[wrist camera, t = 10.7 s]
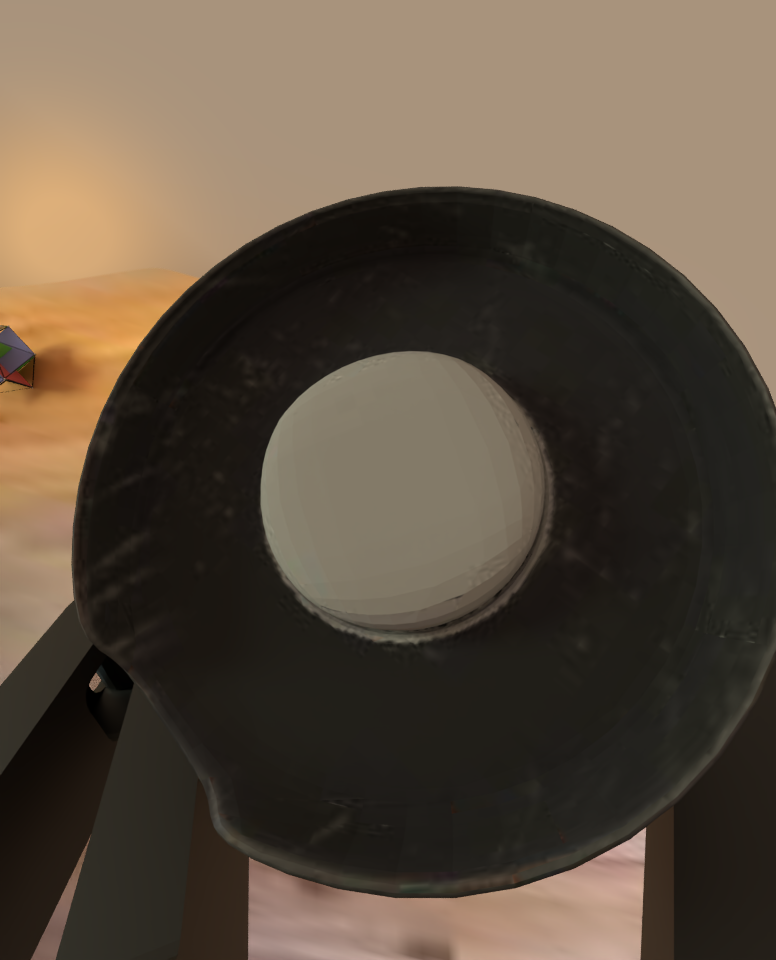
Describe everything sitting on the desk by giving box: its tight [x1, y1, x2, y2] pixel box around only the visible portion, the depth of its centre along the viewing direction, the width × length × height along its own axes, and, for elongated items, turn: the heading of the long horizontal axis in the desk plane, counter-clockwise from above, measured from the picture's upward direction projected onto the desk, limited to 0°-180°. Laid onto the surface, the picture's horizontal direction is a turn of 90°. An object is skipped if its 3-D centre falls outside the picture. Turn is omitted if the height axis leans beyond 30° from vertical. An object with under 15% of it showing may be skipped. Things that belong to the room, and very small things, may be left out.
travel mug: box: [72, 187, 776, 898], centre depth 14 cm, size 8×8×20 cm
